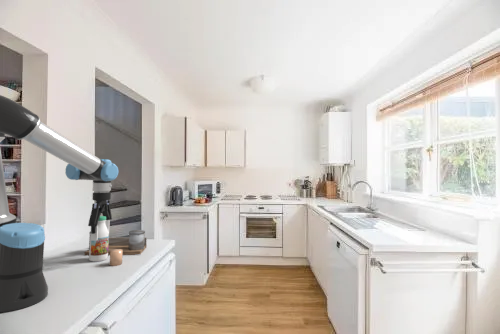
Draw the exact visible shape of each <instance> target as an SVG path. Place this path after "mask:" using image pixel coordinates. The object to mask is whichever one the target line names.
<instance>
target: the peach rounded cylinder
mask: <svg viewBox="0 0 500 334" xmlns="http://www.w3.org/2000/svg"><path fill="white" fill-rule="evenodd" d="M122 253H123V250H122V249H114V250H111V251H110V255H109V267H110V266H111V267H117V266H121V265H122V264H123V255H122Z"/></svg>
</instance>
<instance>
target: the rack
mask: <svg viewBox="0 0 500 334" xmlns="http://www.w3.org/2000/svg"><path fill="white" fill-rule="evenodd" d="M90 236H91V230H90V231H89V242H88V250H85V251H84V256H89V250H90ZM145 236H146V230H145V229H134V230H130V231H128V237H109V246H108V256H110V251H111V250H114V249H122V250H123V253H122V256H125V255H126V256H128V255H130V256H136V255H135V254H140V255H142V253H143V252H144V251H145V250H146V249H147V247H148V246H147V241H148V240H147V239H148V237H145Z"/></svg>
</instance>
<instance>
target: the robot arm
mask: <svg viewBox="0 0 500 334" xmlns="http://www.w3.org/2000/svg"><path fill="white" fill-rule="evenodd" d="M5 135H7V136H10V137H12V138H13V139H16V140H24V141H26V142H28V143H29V144H32V145H34V146H36V147H37V148H39V149H41V150H43V151H45V153H46V152H47V153H48V154H49V155H52V156H54V157H55V158H58V159H60V160H62V161H64V162H65V163H67V165H66V167H65V176H66V177H67V179H68V180H73V181H78V180H81V181H85V180H86V181H92V191H93V192H92V201H94V203H92V207H91V212H90V215H89V219H88V225H87V226H88V227H90V231H91V237H90V236H89V237H90V241H97V240H98V226H97V224H98V221H99V218H100V216H106V221H105V224H106V227H107V229H108V232H109V233H110V222H111V221H110V220H112V219H113V218H112V216H113V215H112V211H111V206H110V205H111V204H110V201H111V197H112V194H111V192H110V191H112V187H113V184H112V181H114V180H116V179H117V177H118V176H119V167H118V166H117V165H116V164H115V163H113V162H112V160H110V159H108V158H107V159H103V158H99V157H98V156H95V154H93V153H91V152H89V151H88V150H86V149H85V148H83V147H82V146H80V145H78V144H77V143H75V142H74V141H72V140H71V139H69V138H67V136H64V135H63V134H61V133H60V132H59V131H56V130H55V129H54V128H52V127H50V126H49V125H47V124H45V123H44V122H42V121H41V119H40V116H39V115H38V114H36V113H34V112H32V111H31V110H30V109H29V108H26V107H25V106H23V105H21V104H20V103H18V102H16V101H14V100H13V99H11V98H8V97H6V96H4V95H1V94H0V143H2V141H4V139H6V136H5ZM3 164H4V163H3V157H2V150H1V148H0V313H5V312H12V311H16V310H21V309H25V308H28V307H30V306H33V305H35V304H37V303H40V302H41V301H43V300H45V298H47V297H48V295H49V286H48V284H47V280H46V278H45V275H44V273H43V272H44V271H43V269H44V267H43V265H44V253H45V251H44V250H45V249H44V248H45V239H46V236H45V228H44V227H43V226H42V225H40V224H37V223H34V222H33V223H32V222H30V223H29V222H18V221H17V216H16V215H14V214H13V213H10V208H9V207H10V206H9V201H8V195H7V187H6V179H5V178H6V177H5V172H4V165H3ZM101 214H102V215H101Z"/></svg>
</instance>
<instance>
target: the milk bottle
mask: <svg viewBox="0 0 500 334" xmlns="http://www.w3.org/2000/svg"><path fill="white" fill-rule="evenodd" d="M105 221H106V216H103V215H100V218H99V221H98V224H97V226H98V240H97V241H90V250H89V249H88V250H89V255H88V260H89V261H90V262H94V263H95V262H103V261H105V260H108V258H109V255H108V246H109V238H110V231H109V232H108V229H107V227H106V224H105ZM89 237H91V236H90V235H89Z"/></svg>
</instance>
